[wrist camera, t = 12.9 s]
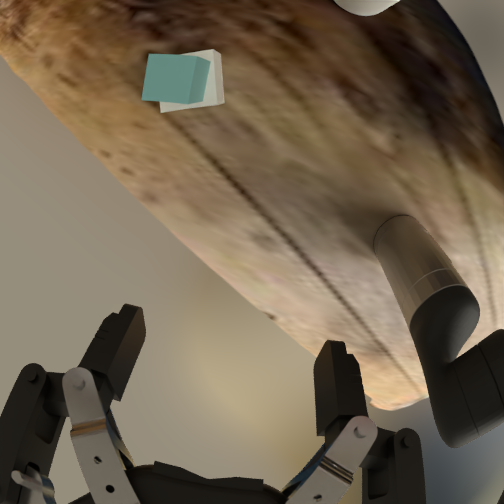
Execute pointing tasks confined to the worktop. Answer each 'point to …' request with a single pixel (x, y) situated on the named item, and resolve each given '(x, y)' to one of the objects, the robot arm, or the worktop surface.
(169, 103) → the pedestal block
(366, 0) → the mug
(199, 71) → the teal cube
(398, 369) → the worktop surface
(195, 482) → the robot arm
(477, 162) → the worktop surface
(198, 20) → the worktop surface
